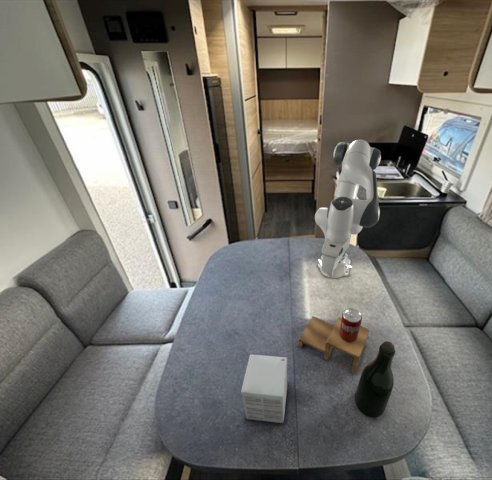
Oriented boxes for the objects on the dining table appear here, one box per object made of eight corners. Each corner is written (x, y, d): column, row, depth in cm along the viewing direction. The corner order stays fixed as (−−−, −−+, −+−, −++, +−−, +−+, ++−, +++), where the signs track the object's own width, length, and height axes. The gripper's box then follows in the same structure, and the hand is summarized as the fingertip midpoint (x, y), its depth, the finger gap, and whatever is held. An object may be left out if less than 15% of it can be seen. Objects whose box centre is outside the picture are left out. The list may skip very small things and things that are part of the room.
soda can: (357, 344, 100) (362, 324, 94) (338, 341, 101) (342, 320, 95) (357, 329, 106) (362, 309, 100) (339, 326, 107) (342, 306, 101)
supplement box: (253, 380, 100) (249, 353, 90) (288, 384, 99) (287, 356, 89) (245, 419, 89) (240, 392, 79) (283, 423, 88) (283, 397, 78)
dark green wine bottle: (357, 383, 99) (372, 326, 81) (386, 394, 95) (408, 337, 77) (351, 411, 91) (367, 354, 73) (383, 424, 87) (407, 368, 69)
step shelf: (312, 323, 122) (313, 306, 116) (364, 345, 112) (369, 329, 106) (298, 346, 112) (299, 329, 106) (355, 373, 102) (359, 356, 96)
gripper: (339, 225, 106) (336, 252, 114) (319, 252, 91) (317, 281, 99) (354, 229, 104) (350, 256, 111) (336, 257, 89) (333, 286, 97)
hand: (334, 268), depth 105 cm, fingers open, 8 cm apart
